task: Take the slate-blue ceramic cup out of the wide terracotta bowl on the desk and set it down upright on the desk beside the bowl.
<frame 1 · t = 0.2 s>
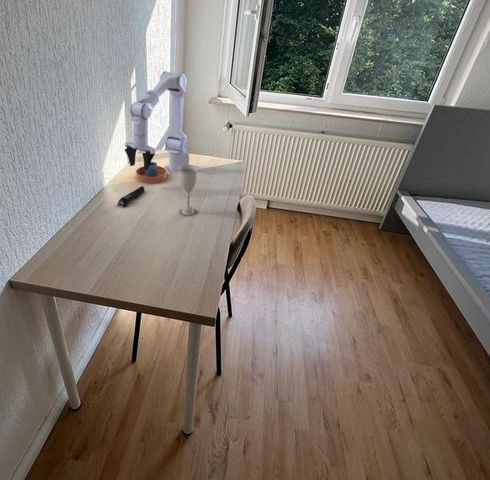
hand: (139, 167, 145), 11 cm above the table, tool pointing down, fingers open, 7 cm apart
blue cup: (151, 177, 162), resting on bowl
bowl: (151, 178, 163), on the table
chalice: (187, 212, 137), on the table
electric trimmer: (131, 199, 144), on the table
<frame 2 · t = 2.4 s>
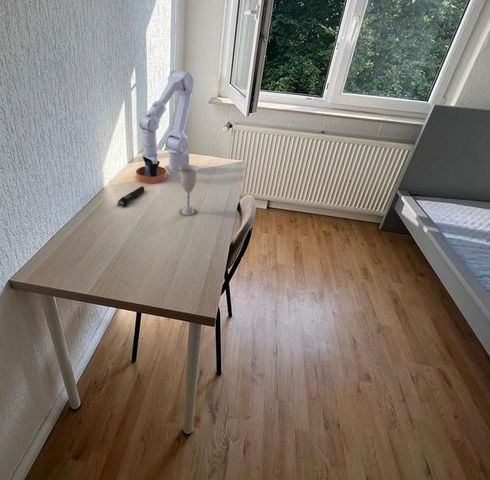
hand: (151, 173, 161), 2 cm above the table, tool pointing down, fingers closed on blue cup, 5 cm apart
blue cup: (151, 177, 162), point 1 cm above the table, touching bowl, gripper
everything else where it was.
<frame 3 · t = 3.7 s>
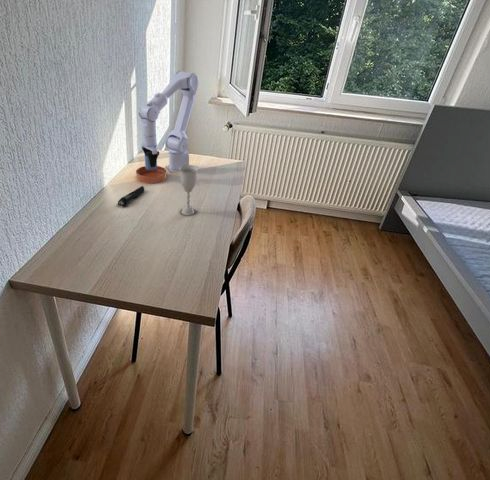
hand: (151, 164, 159), 7 cm above the table, tool pointing down, fingers closed on blue cup, 5 cm apart
blue cup: (151, 168, 160), point 5 cm above the table, touching gripper
everything else where it was.
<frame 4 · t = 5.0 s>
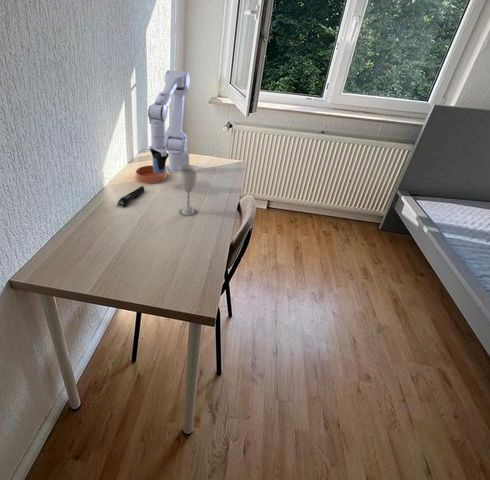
hand: (159, 166, 150), 9 cm above the table, tool pointing down, fingers closed on blue cup, 5 cm apart
blue cup: (159, 171, 151), point 7 cm above the table, touching gripper
everything else where it was.
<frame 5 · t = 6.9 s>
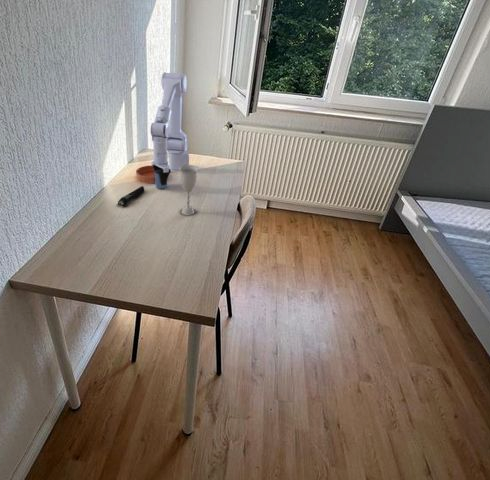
hand: (161, 181, 152), 3 cm above the table, tool pointing down, fingers closed on blue cup, 5 cm apart
blue cup: (161, 186, 153), point 1 cm above the table, touching gripper
everything else where it was.
when the fingers open (2 cm above the table, at t = 7.8 s): blue cup stays where it is, on the table.
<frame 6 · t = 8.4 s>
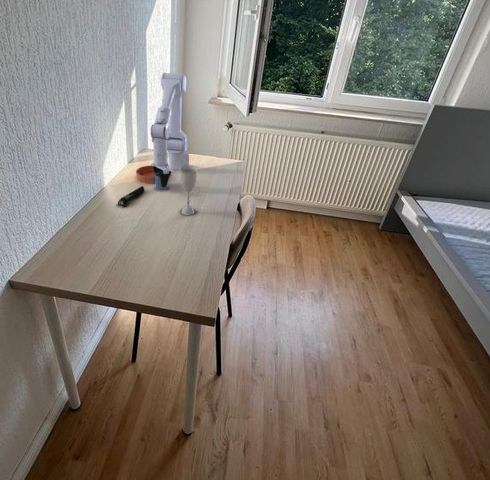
hand: (161, 183, 152), 2 cm above the table, tool pointing down, fingers open, 7 cm apart
blue cup: (161, 188, 154), on the table
everything else where it was.
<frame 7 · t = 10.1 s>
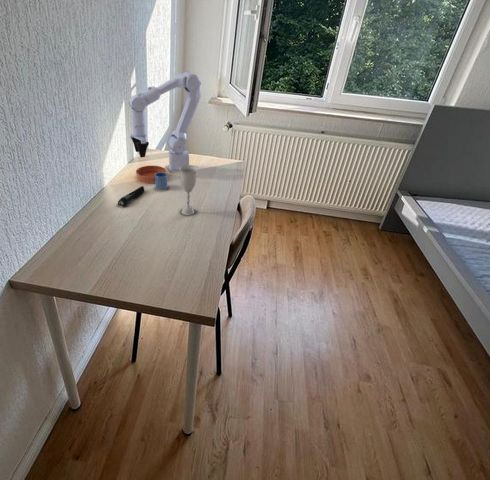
hand: (140, 154, 162), 9 cm above the table, tool pointing down, fingers open, 7 cm apart
nothing on the table moved.
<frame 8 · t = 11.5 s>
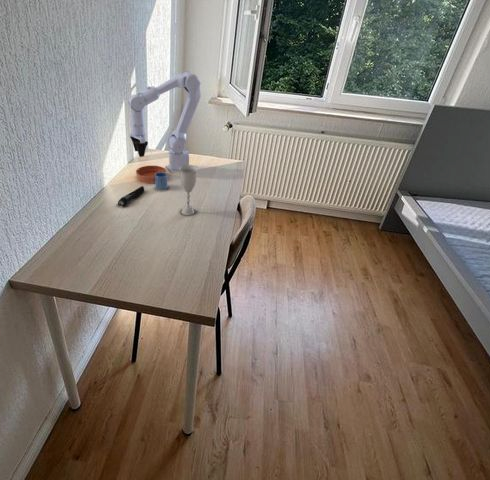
hand: (139, 153, 162), 9 cm above the table, tool pointing down, fingers open, 7 cm apart
nothing on the table moved.
at the end: blue cup 0.1 cm from the target spot, on the table; blue cup tilted 0°; blue cup touching table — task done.
